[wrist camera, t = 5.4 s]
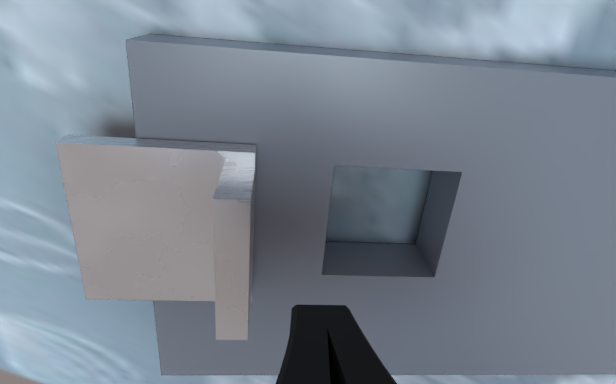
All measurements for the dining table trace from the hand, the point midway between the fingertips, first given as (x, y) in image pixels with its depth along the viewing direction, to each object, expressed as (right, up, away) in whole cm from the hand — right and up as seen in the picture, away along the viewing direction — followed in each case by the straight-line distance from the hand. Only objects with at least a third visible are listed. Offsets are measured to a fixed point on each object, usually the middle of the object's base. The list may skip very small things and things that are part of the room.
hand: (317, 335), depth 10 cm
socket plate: (+5, +2, +8) cm, 10 cm away
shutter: (-5, +3, +4) cm, 7 cm away
